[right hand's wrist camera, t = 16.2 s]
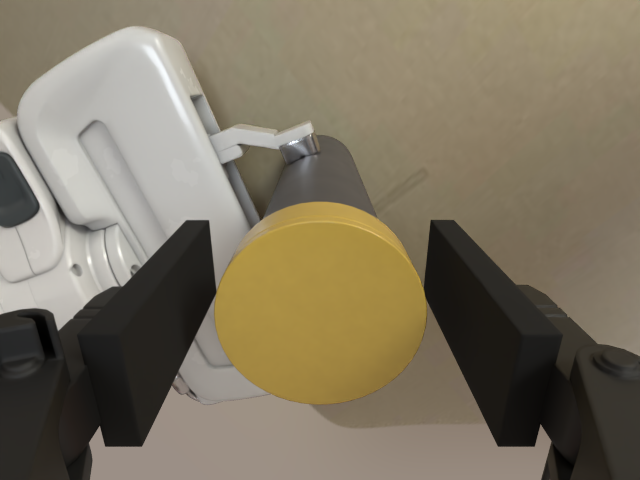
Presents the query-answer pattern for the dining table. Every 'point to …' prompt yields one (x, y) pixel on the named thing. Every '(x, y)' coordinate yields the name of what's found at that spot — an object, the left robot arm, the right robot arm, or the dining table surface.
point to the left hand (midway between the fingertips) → (335, 189)
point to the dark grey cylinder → (321, 180)
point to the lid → (320, 304)
